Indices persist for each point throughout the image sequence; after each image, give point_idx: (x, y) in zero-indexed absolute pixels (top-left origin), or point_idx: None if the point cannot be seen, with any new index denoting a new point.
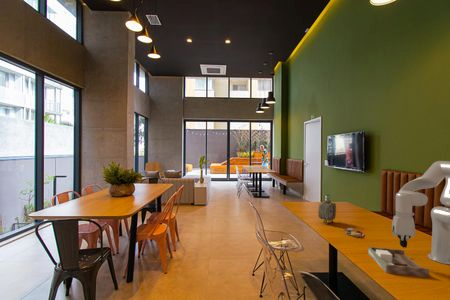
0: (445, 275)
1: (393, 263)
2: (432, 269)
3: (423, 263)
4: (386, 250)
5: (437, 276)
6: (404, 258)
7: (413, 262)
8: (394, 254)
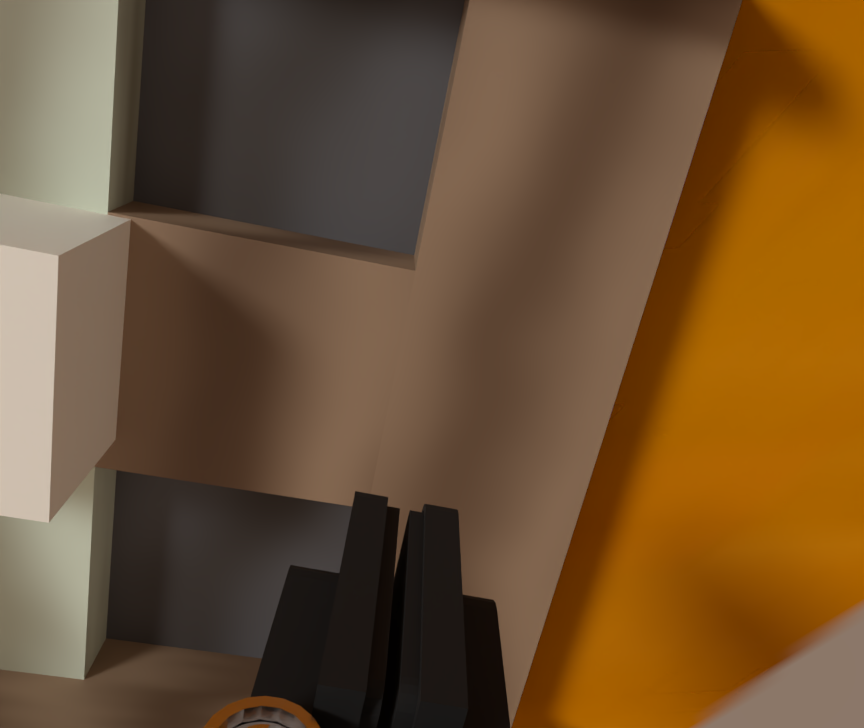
0: (799, 653)
1: (130, 465)
2: (790, 503)
3: (860, 297)
4: (36, 254)
5: (646, 681)
6: (527, 264)
7: (568, 437)
8: (467, 7)
